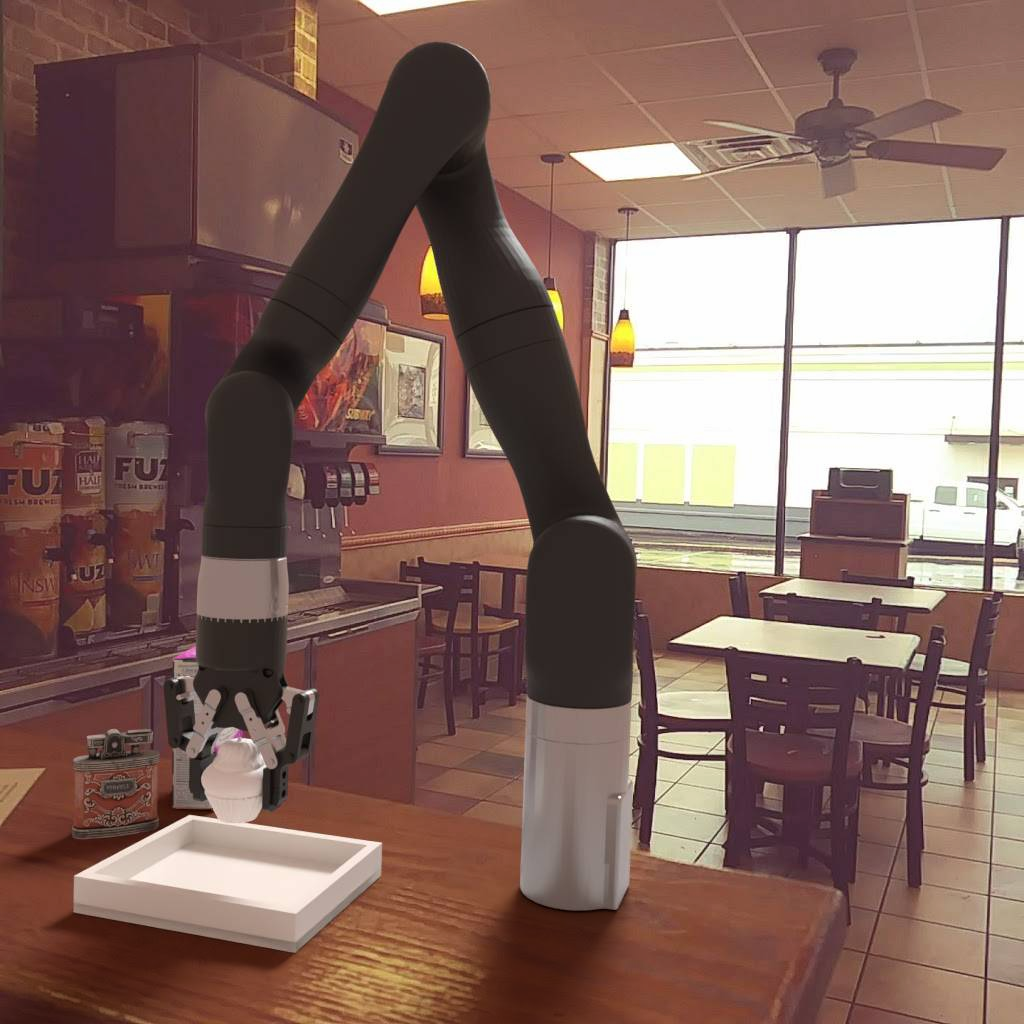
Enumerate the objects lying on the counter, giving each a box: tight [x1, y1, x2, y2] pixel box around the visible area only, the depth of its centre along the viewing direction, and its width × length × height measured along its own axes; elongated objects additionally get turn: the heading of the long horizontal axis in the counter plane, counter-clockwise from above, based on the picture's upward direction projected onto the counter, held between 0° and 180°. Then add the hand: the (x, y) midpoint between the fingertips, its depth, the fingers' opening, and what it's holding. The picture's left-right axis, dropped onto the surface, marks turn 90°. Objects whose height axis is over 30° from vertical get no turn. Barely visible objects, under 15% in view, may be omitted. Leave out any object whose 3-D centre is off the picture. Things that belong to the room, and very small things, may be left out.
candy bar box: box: [171, 645, 245, 809], centre depth 114 cm, size 11×5×16 cm, turn 179°
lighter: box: [71, 728, 161, 840], centre depth 102 cm, size 8×3×10 cm, turn 118°
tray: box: [72, 814, 383, 954], centre depth 89 cm, size 20×16×3 cm
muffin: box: [201, 737, 266, 824], centre depth 88 cm, size 6×6×7 cm
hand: (237, 803), depth 89 cm, fingers closed on muffin, 6 cm apart
